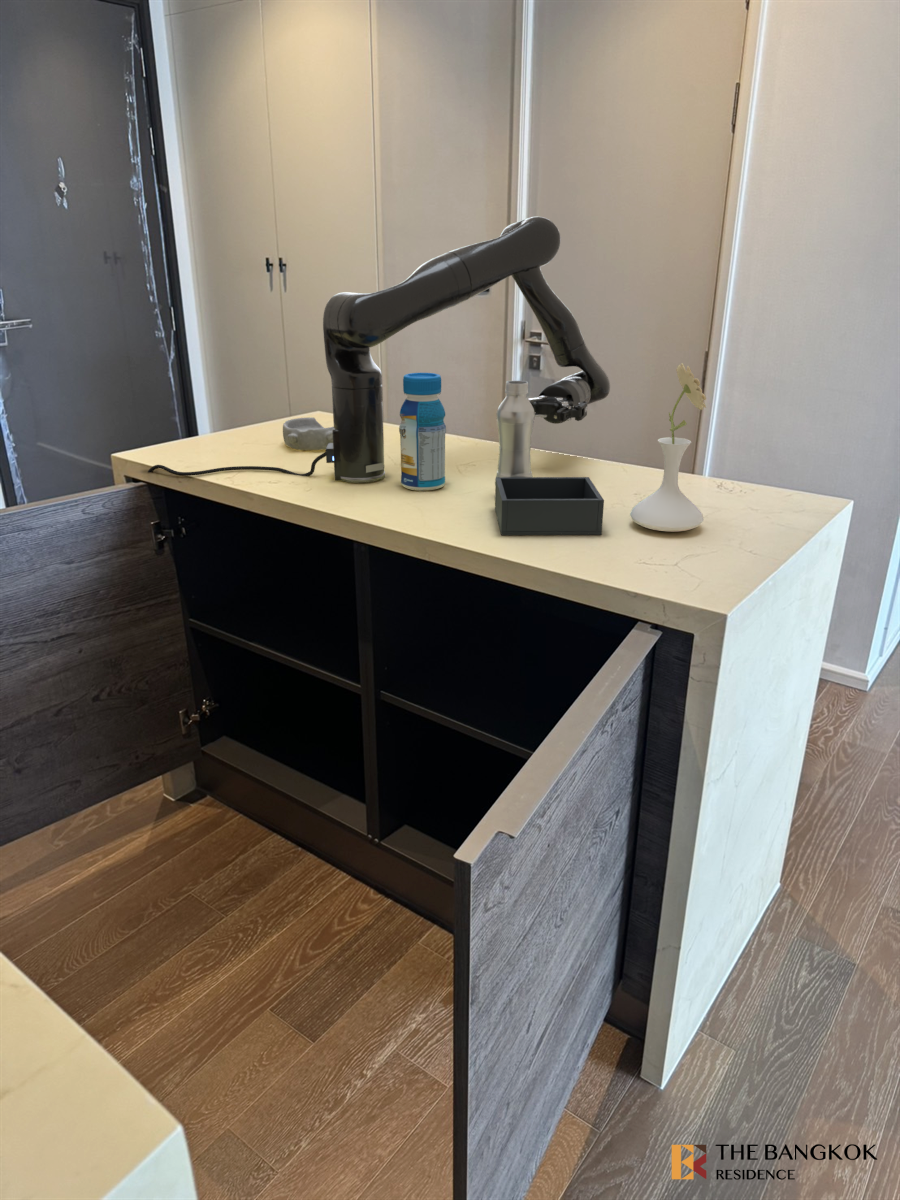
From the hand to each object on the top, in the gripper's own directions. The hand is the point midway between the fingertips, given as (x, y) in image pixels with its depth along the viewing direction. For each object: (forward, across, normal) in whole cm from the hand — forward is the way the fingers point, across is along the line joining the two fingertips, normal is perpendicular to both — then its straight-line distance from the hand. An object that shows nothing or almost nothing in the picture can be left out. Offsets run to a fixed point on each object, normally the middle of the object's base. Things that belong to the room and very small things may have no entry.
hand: (536, 415), depth 157 cm
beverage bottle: (+10, -18, +13) cm, 24 cm away
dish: (-9, -54, +13) cm, 56 cm away
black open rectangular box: (+22, +10, +12) cm, 27 cm away
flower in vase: (+16, +28, +13) cm, 34 cm away
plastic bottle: (+11, 0, +13) cm, 17 cm away
